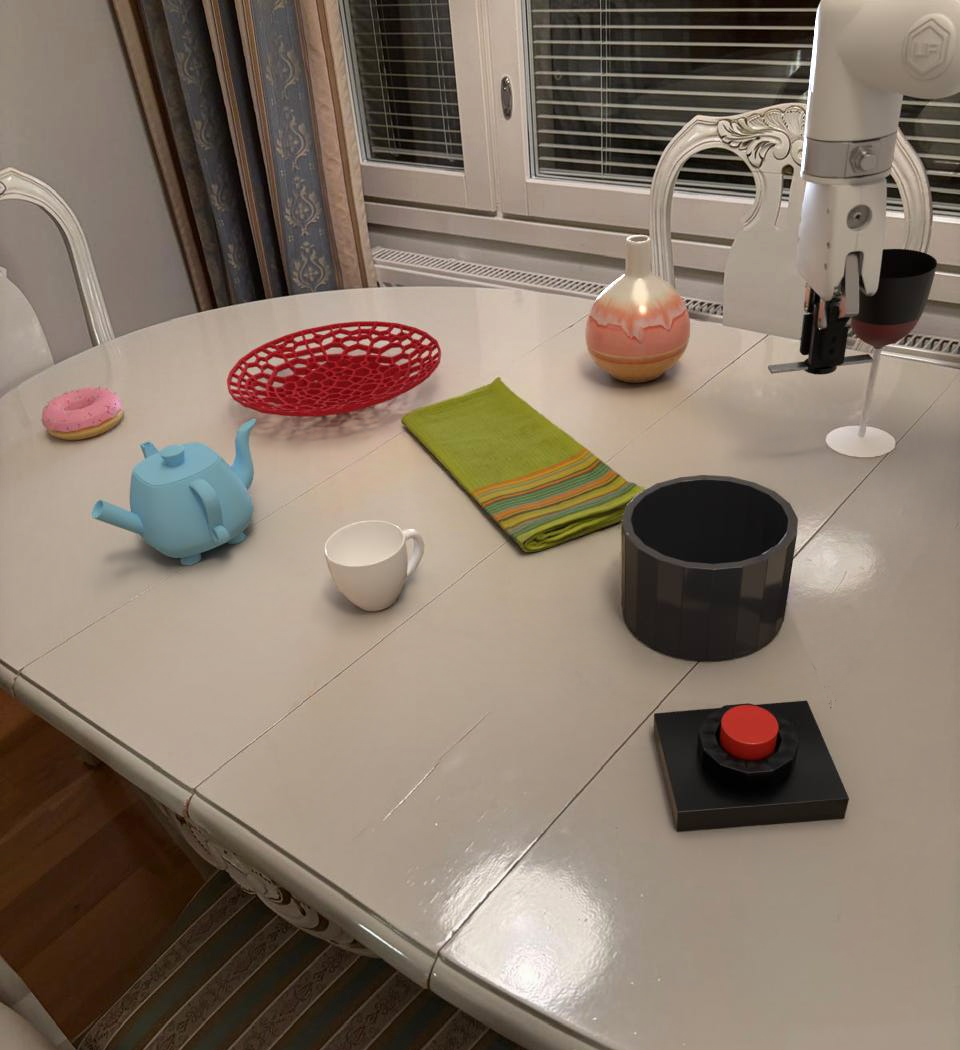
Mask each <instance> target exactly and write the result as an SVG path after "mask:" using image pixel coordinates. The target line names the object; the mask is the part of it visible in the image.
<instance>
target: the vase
mask: <svg viewBox="0 0 960 1050" xmlns="http://www.w3.org/2000/svg"><path fill="white" fill-rule="evenodd" d="M584 335H585V343H586V348H587V351H588V353H589V356H590V357H591V359H592V360H593V361H594V363H595V364H596V365H597V367H599V368H600V369H601V370H602V371H604V372H605V373H607V374H608V375H610V376H611V377H612V378H613V379H614V380H617V381H619V382H623V383H630V384H631V383H632V384H639V383H640V384H641V383H647V382H650V381H651V382H652V381H654V380H656V379H658V378H660V377H661V376H662V375H663V374H664V373H666V372H667V371H668V370H670V369H671V368H672V367H674V366H675V365H676V364H677V363H679V361H680V359H681V358H682V356H683V355H684V353H685V352H686V351H687V348H688V345H689V341H690V337H691V319H690V315H689V310H688V308H687V305H686V303H685V301H684V299H683V297H682V296H681V294H680V293H679V292H678V291H677V290H676V289H675V288H674V287H673V286H672V285H671V284H670V283H668V282H667V281H666V280H665V279H663V278H661V277H660V276H659V275H657V274H655V273H654V272H652V238H651V236H649V235H644V234H635V235H631V236H629V237H627V238H626V243H625V270H624V273H623V274H622V275H621V276H620V277H618V278H617V279H615V280H614V281H613V282H611V283H610V284H609V285H608V286H606V287H605V289H603V291H602V292H600V294H598V296H597V298H596V299H595V301H594V302H593V304H592V306H591V308H590V311H589V312H588V315H587V319H586V324H585V334H584Z"/></svg>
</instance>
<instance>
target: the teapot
mask: <svg viewBox="0 0 960 1050" xmlns="http://www.w3.org/2000/svg"><path fill="white" fill-rule="evenodd" d="M256 423H257V419H256V418H252V419H250V420H248V421H246V422H245V423H244V424H242V425H241V426H240V427H239V428H238V430H237V431H236V435H235V438H234V448H235V457H234V461H233V463H232V464H231V466H230V464H228V462H227V461H226V460H225V459H224V458H223V457H222V456H221V455H220V453H218V452H217V451H216V450H214V449H213V448H211V447H210V446H209V445H207V444H204V443H202V442H198V441H191V442H186V443H181V444H170V445H167V446H165V447H163V448H162V449H160V450H159V449H157V447H156V446H155V444H154V443H153V442H151V440H146V441H144V442H141V443H139V446H140V448H141V451H142V455H143V457H144V459H142V460H140V461H139V462H138V463H136V464H135V466H133V468H132V471H131V476H130V477H131V478H130V485H129V508H130V509H129V510H127V509H125V508H122V507H120V506H117V505H115V504H113V503H110V502H107V501H105V500H103V499H99V500H97V501H96V502H95V503H94V505H93V507H92V511H91V517H92V519H94V520H97V521H100V522H103V523H106V524H108V525H111V526H114V527H116V528H120V529H123V530H125V531H128V532H131V533H134V534H137V535H139V536H140V537H141V538H142V539H143V541H144V542H146V543H147V544H148V545H150V547H152V548H153V549H155V551H156V550H157V552H159V553H161V554H162V555H164V556H167V557H169V558H173V559H180V564H181V565H184V566H191V565H195V564H197V563H199V562H200V561H201V559H202V553H204V552H207V551H210V550H213V549H215V548H217V547H219V546H222V545H224V544H226V543H227V544H229V545H235V544H239V543H241V542H243V541H244V540H245V539H246V537H247V535H246V533H244V531H245V530H246V529H247V528H248V526H249V525H250V523H251V521H252V518H253V513H254V503H253V500H252V497H251V495H250V493H249V489H250V488H251V486H252V484H253V481H254V477H255V476H254V475H255V468H254V461H253V457H252V453H251V448H250V435H251V432H252V430H253V428H254V426H255V424H256Z"/></svg>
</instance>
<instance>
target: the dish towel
mask: <svg viewBox="0 0 960 1050" xmlns="http://www.w3.org/2000/svg"><path fill="white" fill-rule="evenodd" d="M400 422H401V424H402V425H403V426H404V427H405V428H406V429H407V430H408V431H409V432H410V433H411V434H412V435H413V436H414V437H415V438H416V439H417V440H418V441H419V442H420V443H421V444H422V445H423V446H424V447H425V448H426V449H427V450H428V451H429V452H430V453H431V454H432V455H433V456H434V457H435V458H436V459H437V460H438V462H439V463H440V464H441V465H442V466H443V467H444V468H445V469H446V470H447V471H448V472H449V473H450V475H451V476H452V477H453V478H454V479H455V480H456V481H457V483H458V484H459V485H460V486H461V487H462V488H463V490H465V491H466V493H468V494H469V496H471V497H472V498H473V499H474V501H476V502H477V503H478V505H479V506H480V507H481V508H482V509H483V510H484V511H485V512H486V513H487V515H488V516H489V517H490V518H491V519H492V520H493V521H494V522H495V523H496V524H497V525H498V526H499V527H500V528H501V529H502V531H503V532H505V534H507V536H508V537H510V538H511V539H512V540H513V541H514V542H515V543H516V544H518V546H519V548H520V549H521V550H522V551H523V552H525V553H536V552H540V551H544V550H547V549H549V548H552V547H555V546H558V545H560V544H562V543H565V542H568V541H570V540H573V539H575V538H579V537H581V536H584V535H588V534H591V533H593V532H595V531H599V530H601V529H604V528H606V527H609V526H612V525H615V524H617V523H620V522H622V517H623V514H624V511H625V508H626V505H627V504H628V503H629V502H630V501H631V500H632V499H633V498H634V497H635V496H636V495H637V494H638V493H640V492H642V491H644V490H645V489H646V488H644V487H643V486H640V485H638V483H634V482H632V481H631V482H630V481H627V480H626V478H624V477H623V476H622V475H621V474H619V473H618V472H617V471H615V470H614V469H613V468H612V467H611V466H610V465H608V464H607V463H605V462H604V461H603V460H602V459H600V458H599V457H598V456H596V454H594V453H593V452H592V451H590V450H589V449H588V448H586V447H585V446H584V445H583V444H581V443H580V442H578V441H577V440H576V439H575V438H574V437H572V436H571V435H570V434H569V433H567V432H566V431H565V430H564V429H562V428H560V427H559V426H558V425H556V424H555V423H553V422H552V421H551V420H550V419H548V418H547V417H546V416H545V415H544V414H542V413H540V412H539V411H538V410H536V408H534V407H533V406H532V405H530V404H529V403H528V402H527V401H526V400H525V399H523V398H521V397H520V396H519V395H517V394H516V393H515V392H514V391H513V390H511V388H510V387H508V385H506V384H505V382H504V381H503V380H502V379H501V377H500V376H497V377H496V378H495V379H494V380H493V381H492V382H490V383H488V384H486V385H483V386H480V387H477V388H474V389H473V390H472V389H471V390H470V391H468V392H465V393H462V394H460V395H457V396H454V397H450V398H446V399H444V400H441V401H437V402H435V403H431V404H428V405H425V406H421V407H418V408H416V409H414V410H412V411H409V412H407V413H405V414H404V415H403V416H402V418H401V419H400Z"/></svg>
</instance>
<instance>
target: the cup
mask: <svg viewBox="0 0 960 1050" xmlns="http://www.w3.org/2000/svg"><path fill="white" fill-rule="evenodd" d="M411 539H412V540H413V544H414V546H413V550H412V553H411V555H410V558H409V554H408V547H407V541H409V540H411ZM424 552H425V541H424V539H423V536H422V535H421V533H420V532H419V531H417V530H416V529H414V528H406V529H403V530H402V528H400V527H399V526H398V525H396V524H394V523H392V522H389V521H385V520H377V519H376V520H375V519H374V520H371V519H369V520H362V521H357V522H353V523H350V524H347V525H345V526H343V527H341V528H339V529H337V530H335V532H333V533H332V534H331V535H330V536H329V537H328V538H327V540H326V541H325V543H324V545H323V553H324V556H325V560H326V565H327V567H328V571H329V573H330V576H331V578H332V581H333V582H334V584H335V586H336V587H337V588H338V590H339V591H340V593H341V594H342V595H343V596H344V598H346V599H347V600H348V601H349V602H351V604H354V606H356V607H357V608H359V609H361V610H362V611H366V612H378V611H382V610H385V609H387V608H389V607H390V606H392V605H393V604H394V603H395V602H396V600H398V597H399V596H400V594H401V592H402V590H403V588H404V585H405V582H406V579H408V578H409V577H410V576H411V575H412V574H413V573H414V571H415V570H416V569H417V568H418V566H419V564H420V562H421V560H422V559H423V555H424Z"/></svg>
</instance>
